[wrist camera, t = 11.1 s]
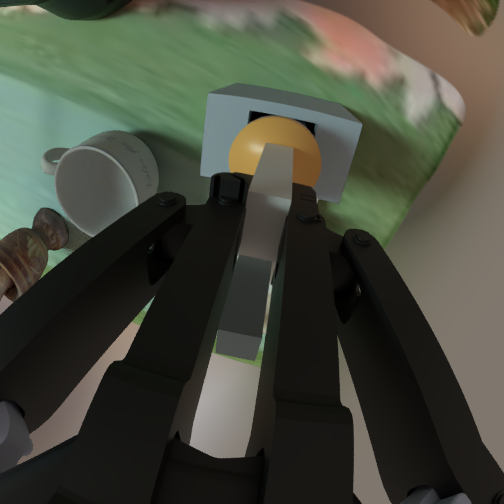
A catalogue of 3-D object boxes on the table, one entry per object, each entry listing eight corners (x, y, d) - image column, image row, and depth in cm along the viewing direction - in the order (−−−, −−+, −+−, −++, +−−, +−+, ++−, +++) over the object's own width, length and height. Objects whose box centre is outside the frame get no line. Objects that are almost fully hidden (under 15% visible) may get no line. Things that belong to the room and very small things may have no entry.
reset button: (252, 97, 20) (234, 110, 14) (320, 110, 20) (331, 130, 14) (242, 158, 23) (223, 195, 17) (305, 171, 23) (309, 212, 17)
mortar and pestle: (69, 269, 44) (7, 358, 28) (35, 247, 42) (-30, 326, 26) (73, 218, 37) (-13, 316, 21) (34, 195, 35) (-53, 278, 20)
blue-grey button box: (236, 83, 25) (208, 92, 17) (344, 105, 24) (368, 125, 16) (228, 139, 28) (199, 175, 20) (329, 160, 28) (343, 204, 20)
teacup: (187, 161, 30) (157, 192, 24) (142, 222, 36) (112, 261, 29) (97, 92, 26) (50, 107, 20) (65, 161, 32) (26, 188, 25)
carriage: (227, 194, 29) (181, 296, 18) (305, 210, 29) (308, 322, 18) (220, 256, 34) (184, 361, 23) (288, 270, 34) (279, 381, 23)
